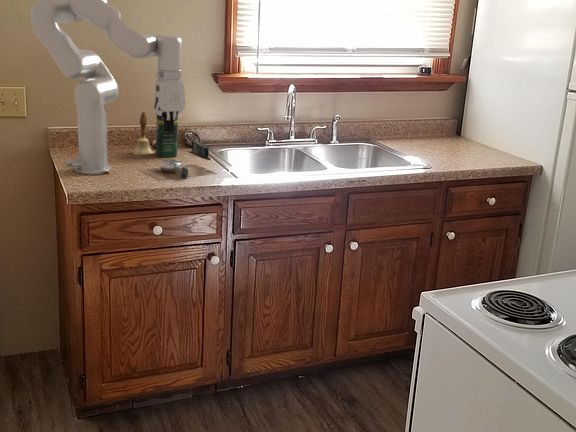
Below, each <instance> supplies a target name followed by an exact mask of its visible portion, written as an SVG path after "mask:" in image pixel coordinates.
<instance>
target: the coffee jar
mask: <svg viewBox="0 0 576 432" xmlns="http://www.w3.org/2000/svg"><path fill="white" fill-rule="evenodd" d="M178 115H179V114H177V116H176V119H175V120H174V132H170V133H169V132H165V131H164V119H162V117H161V116H160V115H156V125H155V126H156V131H155V132H156V134H155V135H156V136H155V137H156V139H155V141H156V143H155V155H156V157H158V158H161V159H163V158H164V159H168V158H169V159H174V158H177V157H178V133H179V130H178V128H179V120H178V119H179V118H178V117H179V116H178Z"/></svg>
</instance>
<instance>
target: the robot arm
mask: <svg viewBox="0 0 576 432" xmlns="http://www.w3.org/2000/svg"><path fill="white" fill-rule="evenodd" d="M83 20H84V21H86V22H87V23H89V24H90V25H92V26H93V27H95V28H97V30H100V31H101V32H103V34H105V36H106V38H107V39H108V40H109V41H110V42H111V43H112V44H113V45H114V46H115V47H116V48H118V49H119V50H121V51H123V52H124V53H126V54H127V55H128V56H130V57H133V58H135V59H138V60H139V59H140V60H141V59H147V58H154V57H155V58H156V57H157V72H156V73H155V77H157V79H155V85H154V92H153V108H154V110H155V111H154V114H155V115H156V116H157V115H160V116H161V117H162V119H164V131H165V132H169V133H170V132H174V120H175V119H176V116H177V114H178V115H179V114H180V113H183V111H184V110H185V108H186V91H185V83H184V80H183V79H182V56H183V55H182V53H183V51H182V50H183V49H182V47H183V45H182V44H183V43H182V38H180V37H179V36H176V35H161V34H158V33H153V32H151V33H147V32H146V33H139V32H136V31H135V30H133V29H132V28H130V27H129V26H128V25H126V24H125V23H124V22H123V21H122V13H121V12H120V10H119V9H117V8H116V7H114V6H112V5H111V4H109V3H108V0H36V1H35V2H34V3H33V4H32V7H31V10H30V24H31V27H32V29H33V32H34V33H35V35H36V36H37V38H38V39H39V41H41V43H42V44H43V46H44V47H45V49H46V50H47V51H48V53H49V55H50V57H52V59H53V61H54V62H55V64H56V66H57V67H58V68H59V70H60V72H61V73H62V75H64V76H65V77H66V78H68V79H69V80H80V79H83V80H81V81H79V82H78V83H77V85H76V86H75V88H74V93H73V94H74V96H73V97H74V102H75V106H76V111H77V133H78V135H77V136H78V141H77V142H78V156H76V157H75V159H74V160H65V161H64V165H65V167H71V168H74V171H75V173H78V174H84V175H105V174H108V173H109V172H110V171H109V170H111V169H112V168H113V167H112V165H111V164H108V121H107V120H108V119H107V114H106V111H105V107H104V105H108V104H111V103H113V102H115V100H117V98H118V97H119V91H120V90H119V85H118V83H117V81H116V79H115V78H114V76H113V75H112V74H111V72H110V70H109V69H108V66H106V64H105V63H104V62H103V60H102V59H101V57H100V56H99V55H98V54H97V53H96V52H95V51H93V50H91V49H86V48H83V49H79V48H78V47H77V46H76V44H75V43H74V42H73V40H72V39H71V36H70V35H68V33H67V32H66V31H65V30H63V29H62V28H61V27H60V25H61V24H62V25H63V24H64V25H65V24H72V23H76V22H80V21H83ZM59 24H60V25H59Z"/></svg>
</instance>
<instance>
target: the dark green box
mask: <svg viewBox="0 0 576 432" xmlns="http://www.w3.org/2000/svg"><path fill="white" fill-rule="evenodd" d="M191 152H192V153H193V154H195V155H196V156H198V157H199V158H201V159H207V160H210V161H211V157H209V156H210V155H209V154H210V150H209V147H208V146H207V145H206V144H204V143H202V142H200V141H197V140H192V141H191Z"/></svg>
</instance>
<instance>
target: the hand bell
mask: <svg viewBox="0 0 576 432" xmlns="http://www.w3.org/2000/svg"><path fill="white" fill-rule="evenodd" d="M139 124H140V137H139V138H138V139H136V145H135V148H134V149H133V150H132V152H131V154H132V155H135V156H139V155H149V154H150V155H151V154H154V151H153V150H152V148H151V147H150V140H149V139H148V138H146V129H147V128H146V127H147V124H148V118H147V115H146V112H144V111H143V112H141V114H140V118H139Z"/></svg>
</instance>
